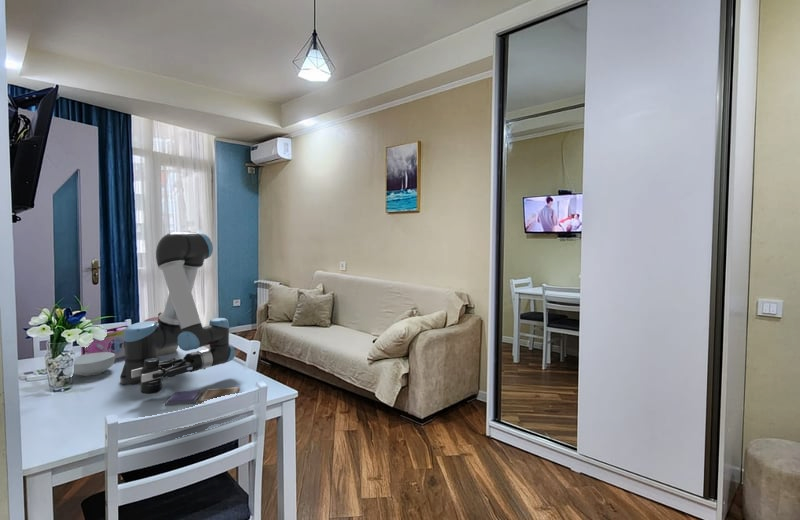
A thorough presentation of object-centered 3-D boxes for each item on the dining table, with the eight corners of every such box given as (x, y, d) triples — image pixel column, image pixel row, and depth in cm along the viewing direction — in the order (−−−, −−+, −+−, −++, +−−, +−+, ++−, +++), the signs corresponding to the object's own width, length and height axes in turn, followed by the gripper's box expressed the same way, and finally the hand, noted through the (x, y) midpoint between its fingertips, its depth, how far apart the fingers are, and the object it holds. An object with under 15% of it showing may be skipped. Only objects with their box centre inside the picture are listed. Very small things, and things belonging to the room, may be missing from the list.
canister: (188, 347, 223) (187, 309, 222) (172, 357, 205) (171, 315, 204) (154, 347, 222) (153, 309, 221) (134, 357, 204) (133, 315, 203)
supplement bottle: (152, 395, 149) (151, 363, 149) (136, 393, 151) (135, 361, 150) (166, 388, 156) (166, 357, 155) (151, 386, 157) (150, 356, 157)
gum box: (89, 366, 191) (88, 337, 190) (77, 364, 194) (76, 335, 193) (137, 352, 214) (136, 326, 213) (126, 350, 216) (125, 325, 216)
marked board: (197, 403, 149) (197, 401, 149) (206, 391, 161) (205, 388, 161) (233, 401, 152) (233, 398, 152) (239, 388, 164) (239, 386, 164)
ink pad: (164, 405, 147) (164, 401, 147) (174, 395, 157) (173, 391, 157) (195, 403, 149) (195, 399, 149) (202, 393, 159) (202, 389, 159)
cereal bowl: (86, 367, 189) (85, 352, 189) (123, 366, 190) (123, 351, 190) (57, 380, 172) (56, 363, 172) (99, 379, 173) (98, 363, 173)
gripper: (212, 374, 163) (150, 392, 144) (184, 364, 174) (123, 380, 154) (212, 356, 162) (150, 371, 143) (184, 347, 173) (123, 360, 154)
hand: (137, 376), depth 149 cm, fingers closed on supplement bottle, 7 cm apart
